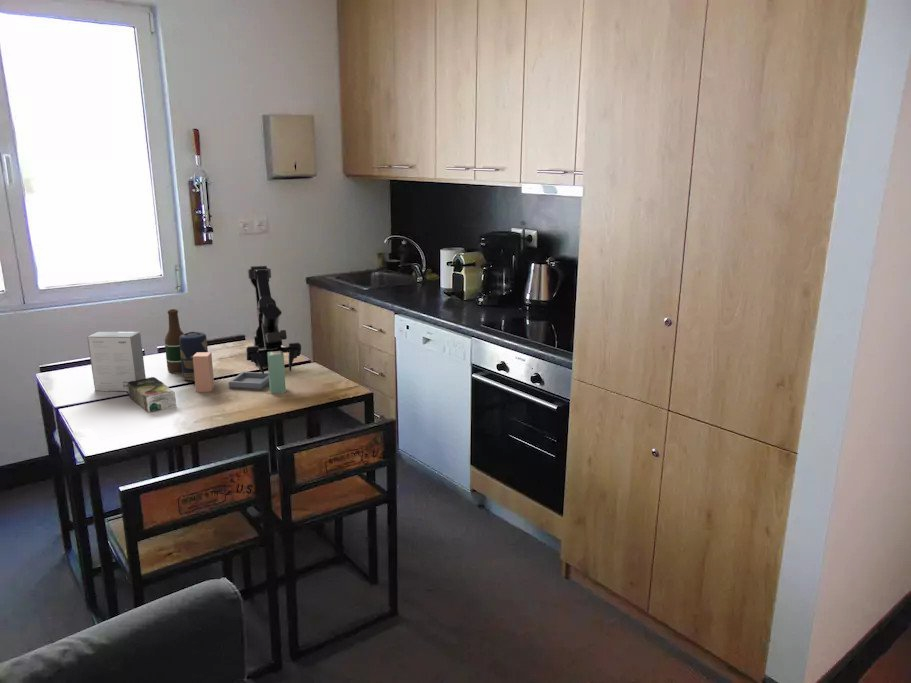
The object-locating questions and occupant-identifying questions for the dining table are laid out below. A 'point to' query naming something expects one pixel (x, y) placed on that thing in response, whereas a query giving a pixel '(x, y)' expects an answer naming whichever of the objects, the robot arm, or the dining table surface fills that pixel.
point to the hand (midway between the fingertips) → (277, 372)
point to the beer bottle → (173, 343)
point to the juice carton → (151, 394)
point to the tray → (250, 381)
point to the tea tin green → (276, 372)
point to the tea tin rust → (203, 371)
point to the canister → (191, 351)
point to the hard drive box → (116, 360)
